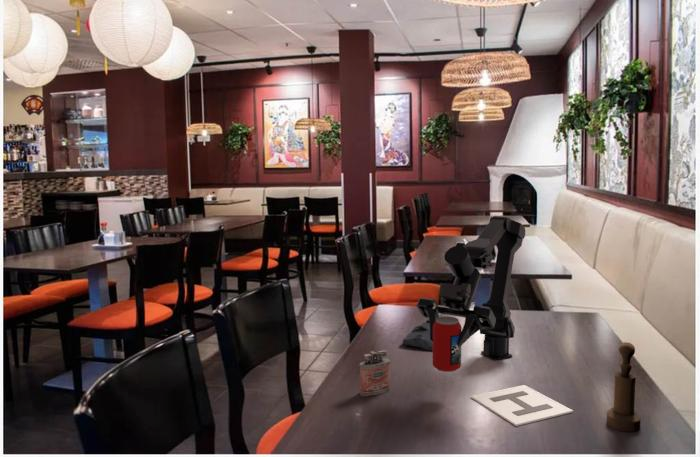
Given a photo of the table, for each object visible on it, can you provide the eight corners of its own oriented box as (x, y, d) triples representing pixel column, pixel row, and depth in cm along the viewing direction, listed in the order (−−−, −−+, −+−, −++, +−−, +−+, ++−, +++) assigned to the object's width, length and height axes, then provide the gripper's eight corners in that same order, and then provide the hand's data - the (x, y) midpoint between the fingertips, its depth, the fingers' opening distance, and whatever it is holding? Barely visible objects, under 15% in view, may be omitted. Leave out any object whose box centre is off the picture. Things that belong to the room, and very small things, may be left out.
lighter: (363, 397, 137) (363, 356, 135) (357, 392, 140) (356, 352, 138) (392, 390, 140) (392, 351, 139) (385, 385, 143) (385, 347, 142)
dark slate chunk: (394, 348, 173) (393, 332, 173) (417, 328, 193) (418, 314, 192) (443, 355, 167) (443, 339, 166) (462, 334, 186) (462, 319, 186)
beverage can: (461, 374, 133) (462, 324, 131) (432, 372, 134) (432, 323, 132) (460, 363, 140) (461, 315, 138) (432, 362, 141) (432, 315, 139)
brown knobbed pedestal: (600, 418, 125) (604, 338, 122) (628, 417, 125) (633, 337, 123) (617, 433, 118) (621, 348, 116) (646, 431, 119) (651, 347, 116)
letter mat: (524, 386, 142) (524, 384, 142) (573, 412, 128) (573, 410, 128) (471, 397, 136) (471, 395, 136) (516, 426, 121) (516, 423, 121)
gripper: (420, 265, 142) (398, 319, 135) (492, 273, 132) (472, 332, 124) (434, 290, 150) (413, 342, 142) (503, 299, 139) (485, 356, 132)
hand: (444, 343), depth 135 cm, fingers closed on beverage can, 7 cm apart
